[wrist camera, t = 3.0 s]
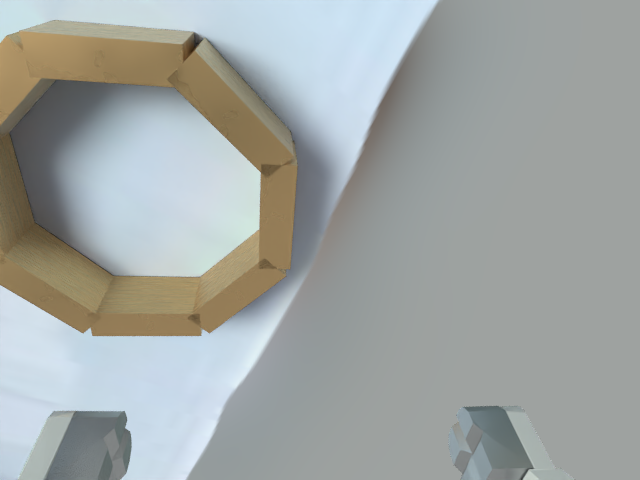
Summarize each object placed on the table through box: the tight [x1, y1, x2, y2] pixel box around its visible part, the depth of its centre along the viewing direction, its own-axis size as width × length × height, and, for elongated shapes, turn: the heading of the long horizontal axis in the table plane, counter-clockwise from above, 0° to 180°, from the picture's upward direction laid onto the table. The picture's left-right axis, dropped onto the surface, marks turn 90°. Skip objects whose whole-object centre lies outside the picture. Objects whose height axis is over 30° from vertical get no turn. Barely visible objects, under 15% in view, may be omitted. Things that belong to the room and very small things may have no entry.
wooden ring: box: [0, 20, 298, 336], centre depth 20 cm, size 14×14×3 cm
